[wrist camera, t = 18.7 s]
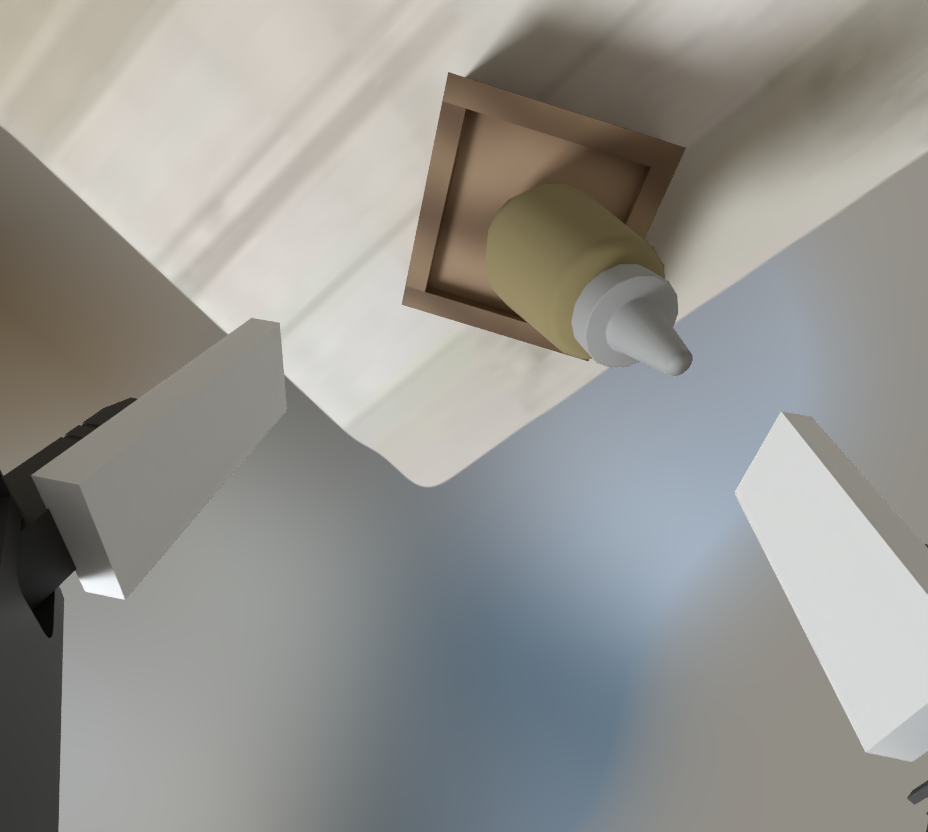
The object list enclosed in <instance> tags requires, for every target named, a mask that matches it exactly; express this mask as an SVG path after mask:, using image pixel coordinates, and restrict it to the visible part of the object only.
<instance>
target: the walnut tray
mask: <svg viewBox="0 0 928 832" xmlns="http://www.w3.org/2000/svg"><path fill="white" fill-rule="evenodd" d="M684 151H685V147H681V146H678V145H675V144H672V143H669V142H666V141H663V140H659V139H656V138H653V137H650V136H647V135H644V134H641V133H638V132H634V131H631V130H628V129H625V128H622V127H619V126H616V125H612V124H609V123H606V122H603V121H600V120H597V119H594V118H590V117H587V116H584V115H581V114H578V113H575V112H572V111H569V110H565V109H562V108H559V107H556V106H553V105H550V104H547V103H543V102H540V101H537V100H534V99H531V98H528V97H525V96H521V95H518V94H515V93H512V92H509V91H506V90H503V89H500V88H496V87H493V86H490V85H487V84H484V83H481V82H478V81H474V80H471V79H468V78H465V77H462V76H459V75H456V74H452V73H449V72H448V76H447V81H446V86H445V91H444V96H443V101H442V106H441V111H440V116H439V121H438V126H437V131H436V136H435V141H434V146H433V151H432V156H431V161H430V166H429V171H428V176H427V181H426V186H425V191H424V196H423V201H422V206H421V211H420V216H419V221H418V226H417V231H416V236H415V241H414V246H413V251H412V256H411V261H410V266H409V271H408V276H407V281H406V286H405V291H404V296H403V301H402V305H405V306H408V307H412V308H415V309H418V310H422V311H425V312H428V313H431V314H435V315H438V316H441V317H445V318H448V319H451V320H454V321H458V322H461V323H464V324H468V325H471V326H474V327H477V328H481V329H484V330H487V331H491V332H494V333H497V334H500V335H504V336H507V337H510V338H514V339H517V340H520V341H523V342H527V343H530V344H533V345H537V346H540V347H543V348H546V349H550V350H553V351H556V352H560V353H563V352H562V351H560V350H559V349H558V348H557V347H556V346H555V345H553V344H552V343H551V342H550V341H549V340H547V339H546V338H545V337H544V336H543V335H542V334H540V333H539V332H538V331H537V330H536V329H535V328H533V327H532V326H531V325H530V324H529V323H528V322H526V321H525V320H524V319H523V318H522V317H521V316H519V315H518V314H517V313H516V312H515V311H514V310H512V309H511V308H510V307H509V306H508V305H507V304H506V303H505V302H504V301H503V300H502V299H501V298H500V297H499V296H498V295H497V294H496V293H495V291H494V290H493V289H492V287H491V284H490V281H489V278H488V274H487V271H486V268H485V260H486V248H487V237H488V229H489V227H490V225H491V222H492V220H493V218H494V216H495V214H496V212H497V211H498V210H499V209H500V208H501V207H502V206H503V205H504V204H505V203H506V202H507V201H508V200H509V199H510V198H513V197H515V196H517V195H520V194H522V193H524V192H527V191H529V190H531V189H534V188H536V187H538V186H541V185H543V184H570V185H572V186H573V187H575V188H577V189H579V190H581V191H582V192H584V193H586V194H588V195H590V196H591V197H592V198H593V199H595V200H596V201H597V202H598V203H600V204H601V205H602V206H603V207H604V208H606V209H607V210H608V211H609V212H611V213H612V214H613V215H614V216H616V217H617V218H618V219H619V220H620V221H622V222H623V223H624V224H625V225H627V226H628V227H629V228H630V229H631V230H633V231H634V232H635V233H636V234H638V235H639V236H640V237H641V238H643V239H644V238H645V236H646V234H647V232H648V229H649V227H650V225H651V223H652V221H653V218H654V216H655V214H656V212H657V210H658V208H659V205H660V203H661V201H662V199H663V197H664V194H665V192H666V190H667V188H668V186H669V183H670V181H671V179H672V177H673V175H674V173H675V170H676V168H677V166H678V164H679V162H680V159H681V157H682V155H683V153H684ZM563 354H565V353H563ZM566 355H568V354H566ZM569 356H571V355H569ZM573 357H574V356H573ZM582 360H586V361H589V359H582Z"/></svg>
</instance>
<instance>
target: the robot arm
mask: <svg viewBox="0 0 928 832" xmlns="http://www.w3.org/2000/svg"><path fill="white" fill-rule="evenodd" d="M286 411H287V405H286V393H285V381H284V369H283V358H282V346H281V334H280V323H277V322H272V321H266V320H260V319H255V318H251V319H250V320H248V321H247V322H245V323H244V324H243V325H241V326H240V327H238V328H237V329H236V330H234V331H233V332H231V333H230V334H229V335H227V336H226V337H224V338H223V339H222V340H220V341H219V342H218V343H216V344H215V345H214V346H212V347H210V348H209V349H208V350H206V351H205V352H203V353H202V354H201V355H199V356H198V357H196V358H195V359H193V360H192V361H191V362H189V363H188V364H187V365H185V366H184V367H182V368H181V369H180V370H178V371H177V372H175V373H174V374H172V375H171V376H170V377H168V378H167V379H166V380H164V381H163V382H161V383H160V384H158V385H157V386H156V387H154V388H153V389H152V390H150V391H149V392H147V393H146V394H144V395H143V396H142V397H140V398H139V399H135V398H129V399H126V400H123V401H121V402H118V403H116V404H114V405H111V406H108V407H105V408H103V409H102V410H100V411H99V412H97V413H96V414H94V415H93V416H92V417H90V418H89V419H87V420H86V421H84V422H83V425H82V426H80V425H78V426H77V427H75V428H74V429H72V430H71V431H69V432H68V433H67V434H66V436H65V437H64V438H62V437H60V438H59V439H58V440H56V441H55V442H53V443H52V444H50V445H49V446H47V447H46V448H44V449H43V450H41V451H40V452H39V453H37V454H35V455H34V456H33V457H31V458H29V459H28V460H27V461H25V462H24V463H22V464H21V465H19V466H18V467H16V468H15V469H13V470H12V471H11V472H9V473H8V474H6V475H4V476H3V475H2V473H1V471H0V832H58V823H59V821H58V820H59V782H60V781H59V780H60V741H61V699H62V658H63V655H62V654H63V618H64V617H63V616H64V597H63V594H62V591H61V589H60V587H59V585H60V584H61V583H62V582H63V581H64V580H65V579H66V578H67V577H68V576H70V574H72V572H73V571H76V573H77V575H78V577H79V579H80V582H81V584H82V586H83V588H84V590H85V592H90V593H95V594H100V595H105V596H110V597H114V598H119V599H124V600H125V599H126V598H127V597H128V596H129V595H130V593H131V592H132V591H133V590H134V589H135V588H136V587H137V585H138V584H139V583H140V582H141V581H142V580H143V578H144V577H145V576H146V575H147V574H148V572H149V571H150V570H151V569H152V568H153V567H154V565H155V564H156V563H157V562H158V561H159V560H160V558H161V557H162V556H163V555H164V554H165V553H166V551H167V550H168V549H169V548H170V547H171V545H172V544H173V543H174V542H175V541H176V540H177V538H178V537H179V536H180V535H181V534H182V533H183V531H184V530H185V529H186V528H187V527H188V526H189V524H190V523H191V522H192V521H193V520H194V518H195V517H196V516H197V515H198V514H199V513H200V511H201V510H202V509H203V508H204V507H205V505H206V504H207V503H208V502H209V501H210V500H211V499H212V497H213V496H214V495H215V494H216V493H217V492H218V490H219V489H220V488H221V487H222V485H224V483H225V482H226V481H227V480H228V479H229V478H230V476H231V475H232V474H233V473H234V472H235V470H236V469H237V468H238V467H239V466H240V465H241V463H242V462H243V461H244V460H245V459H246V458H247V456H248V455H249V454H250V453H251V452H252V451H253V449H254V448H255V447H256V446H257V445H258V443H259V442H260V441H261V440H262V439H263V438H264V436H265V435H266V434H267V433H268V432H269V431H270V429H271V428H272V427H273V426H274V425H275V424H276V422H277V421H278V420H279V419H280V418H281V417H282V415H283V414H284V413H285V412H286ZM735 495H736V497H737V499H738V500H739V503H740V505H741V507H742V509H743V511H744V513H745V515H746V517H747V518H748V521H749V523H750V525H751V526H752V528H753V530H754V532H755V534H756V536H757V538H758V540H759V542H760V544H761V546H762V548H763V550H764V552H765V554H766V556H767V558H768V560H769V562H770V564H771V566H772V568H773V570H774V572H775V574H776V576H777V578H778V580H779V582H780V584H781V586H782V588H783V590H784V592H785V593H786V596H787V598H788V600H789V602H790V604H791V606H792V607H793V610H794V612H795V614H796V615H797V617H798V619H799V621H800V623H801V625H802V627H803V629H804V631H805V633H806V635H807V637H808V639H809V641H810V643H811V645H812V647H813V649H814V651H815V653H816V655H817V657H818V659H819V661H820V663H821V665H822V667H823V669H824V671H825V673H826V675H827V677H828V678H829V681H830V683H831V685H832V687H833V689H834V691H835V692H836V695H837V697H838V699H839V700H840V703H841V705H842V706H843V708H844V710H845V712H846V714H847V716H848V718H849V720H850V722H851V724H852V726H853V728H854V730H855V732H856V734H857V736H858V738H859V740H860V742H861V744H862V746H863V748H864V750H865V752H867V753H872V754H876V755H881V756H886V757H891V758H897V759H901V760H906V761H910V762H913V761H914V760H915V759H917V758H918V757H920V756H921V755H922V754H924V753H925V752H926V751H928V545H927V544H924V543H923V542H922V541H921V540H920V538H919V537H918V536H917V535H916V534H915V533H914V532H913V531H912V530H911V528H910V527H909V526H908V525H907V524H906V523H905V521H904V520H903V519H902V518H901V517H900V516H899V515H898V514H897V513H896V511H895V510H894V509H893V508H892V507H891V506H890V505H889V504H888V502H887V501H886V500H885V499H884V498H883V497H882V496H881V494H880V493H879V492H878V491H877V490H876V489H875V488H874V486H873V485H872V484H871V483H870V482H869V481H868V480H867V479H866V477H865V476H864V475H863V474H862V473H861V472H860V471H859V470H858V468H857V467H856V466H855V465H854V464H853V463H852V462H851V460H850V459H849V458H848V457H847V456H846V455H845V454H844V453H843V451H842V450H841V449H840V448H839V447H838V446H837V445H836V443H834V441H833V440H832V439H831V438H830V437H829V436H828V434H827V433H826V432H825V431H824V430H823V429H822V428H821V427H820V426H819V424H818V423H817V422H816V421H815V420H814V419H813V418H812V417H810V416H804V415H798V414H792V413H787V412H781V413H780V415H779V416H778V418H777V420H776V421H775V423H774V425H773V427H772V428H771V430H770V432H769V434H768V435H767V437H766V439H765V441H764V442H763V444H762V446H761V448H760V449H759V451H758V453H757V454H756V457H755V458H754V460H753V461H752V463H751V465H750V467H749V468H748V470H747V472H746V474H745V475H744V477H743V479H742V481H741V483H740V484H739V486H738V488H737V489H736V491H735ZM926 797H928V781H926V782H925V783H923V784H922V785H920V786H919V787H917V788H916V789H914V790H913V791H912V792H911V794H910V795H909V796H908V798H907V799H908V800H909V801H911V802H912V803H913V804H916V803H918V802H920V801H921V800H923V799H925V798H926ZM927 815H928V812H927ZM926 832H928V826H927V831H926Z"/></svg>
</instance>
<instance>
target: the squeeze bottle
mask: <svg viewBox="0 0 928 832" xmlns="http://www.w3.org/2000/svg"><path fill="white" fill-rule="evenodd" d="M485 268H486V271H487V274H488V278H489V281H490V284H491V287H492V289H493V290H494V291H495V293H496V294H497V295H498V296H499V297H500V298H501V299H502V300H503V301H504V302H505V303H506V304H507V305H508V306H509V307H510V308H511V309H512V310H514V311H515V312H516V313H517V314H518V315H519V316H521V317H522V318H523V319H524V320H525V321H526V322H528V323H529V324H530V325H531V326H532V327H533V328H535V329H536V330H537V331H538V332H539V333H540V334H542V335H543V336H544V337H545V338H546V339H547V340H549V341H550V342H551V343H552V344H553V345H555V346H556V347H557V348H558V349H559V350H560V351H562V352H563V353H565V354H568V355H571V356H574V357H576V358H579V359H594V360H595V361H596V363H599V364H602V365H604V366H607V367H610V368H617V367H628V366H631V365H633V364H635V363H637V362H643V363H645V364H647V365H649V366H651V367H653V368H655V369H657V370H659V371H662V372H664V373H666V374H668V375H670V376H678V375H680V374H682V373H684V372H685V371H686V370H687V369H688V368H689V367H690V365H691V363H692V354H691V353H690V351H689V350H688V348H687V347H686V345H685V344H684V343H683V341H682V340H681V338H680V337H679V335H678V334H677V332H676V331H675V330H674V328H673V326H674V323H675V320H676V317H677V314H678V302H677V294H676V293H675V291H674V289H673V288H672V286H671V284H670V283H669V282H668V281H667V280H665V275H664V265H663V263H662V261H661V260H660V258H659V256H658V255H657V253H656V251H655V250H654V248H653V247H652V246H651V245H650V244H649V243H647V242H646V241H645V240H644V239H643V238H641V237H640V236H639V235H638V234H636V233H635V232H634V231H633V230H631V229H630V228H629V227H628V226H627V225H625V224H624V223H623V222H622V221H620V220H619V219H618V218H617V217H616V216H614V215H613V214H612V213H611V212H609V211H608V210H607V209H606V208H604V207H603V206H602V205H601V204H600V203H598V202H597V201H596V200H595V199H593V198H592V197H591V196H590V195H588V194H586V193H584V192H582V191H581V190H579V189H577V188H575V187H573V186H572V185H570V184H543V185H541V186H538V187H536V188H534V189H531V190H529V191H527V192H524V193H522V194H520V195H517V196H515V197H513V198H510V199H509V200H508V201H507V202H506V203H505V204H504V205H503V206H502V207H501V208H500V209H499V210H498V211H497V212H496V214H495V216H494V218H493V220H492V222H491V225H490V227H489V229H488V237H487V248H486V260H485Z"/></svg>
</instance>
